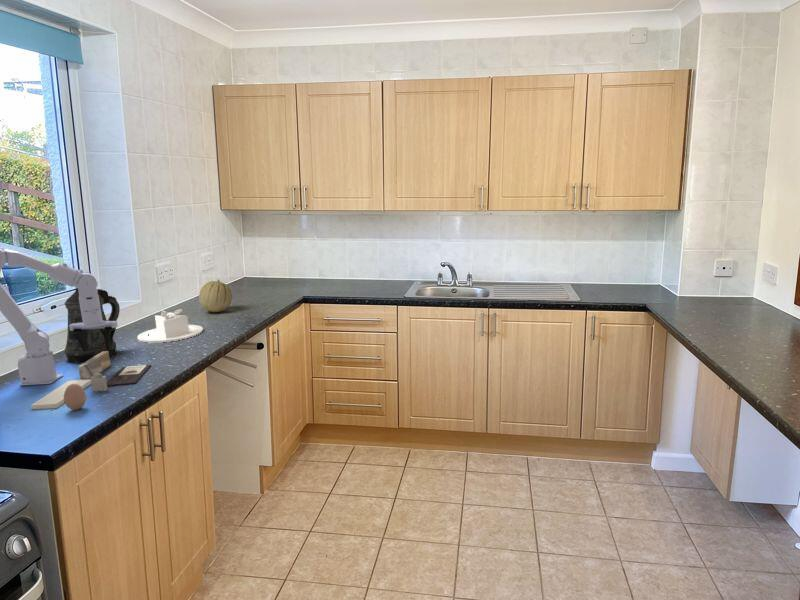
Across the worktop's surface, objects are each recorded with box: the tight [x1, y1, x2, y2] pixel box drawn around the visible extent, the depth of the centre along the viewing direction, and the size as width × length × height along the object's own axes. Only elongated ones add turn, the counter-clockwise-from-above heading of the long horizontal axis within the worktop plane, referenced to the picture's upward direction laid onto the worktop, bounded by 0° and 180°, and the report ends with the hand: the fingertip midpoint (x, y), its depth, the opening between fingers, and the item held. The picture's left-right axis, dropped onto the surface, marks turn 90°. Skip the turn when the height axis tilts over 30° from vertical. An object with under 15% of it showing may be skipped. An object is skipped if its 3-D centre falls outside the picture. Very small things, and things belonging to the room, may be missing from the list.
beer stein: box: [64, 287, 121, 364], centre depth 209 cm, size 16×19×25 cm
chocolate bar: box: [107, 364, 152, 388], centre depth 185 cm, size 9×1×18 cm
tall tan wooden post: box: [77, 351, 112, 380], centre depth 189 cm, size 2×16×5 cm, turn 2°
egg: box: [64, 384, 87, 411], centre depth 158 cm, size 5×5×7 cm
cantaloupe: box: [198, 279, 233, 313], centre depth 272 cm, size 15×15×15 cm
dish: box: [137, 308, 204, 344], centre depth 234 cm, size 25×25×11 cm
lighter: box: [80, 364, 109, 393], centre depth 173 cm, size 7×2×8 cm, turn 77°
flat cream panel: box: [30, 379, 92, 410], centre depth 170 cm, size 7×20×1 cm, turn 2°
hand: (97, 349), depth 191 cm, fingers open, 7 cm apart
